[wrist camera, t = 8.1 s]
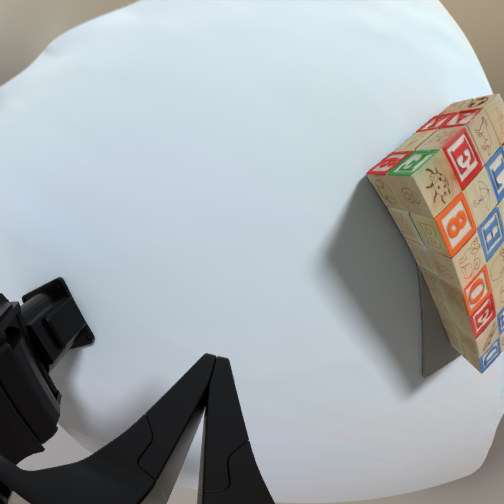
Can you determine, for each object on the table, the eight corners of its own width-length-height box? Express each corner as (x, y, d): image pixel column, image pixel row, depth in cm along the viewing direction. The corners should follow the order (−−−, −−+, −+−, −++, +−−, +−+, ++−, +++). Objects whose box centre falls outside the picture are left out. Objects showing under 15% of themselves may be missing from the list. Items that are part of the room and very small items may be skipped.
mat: (422, 375, 25) (424, 377, 25) (392, 151, 19) (395, 151, 18) (496, 325, 25) (498, 326, 24) (484, 128, 18) (487, 128, 18)
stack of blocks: (448, 345, 24) (512, 274, 22) (480, 376, 18) (546, 292, 16) (363, 171, 19) (452, 101, 17) (411, 172, 13) (500, 90, 11)
